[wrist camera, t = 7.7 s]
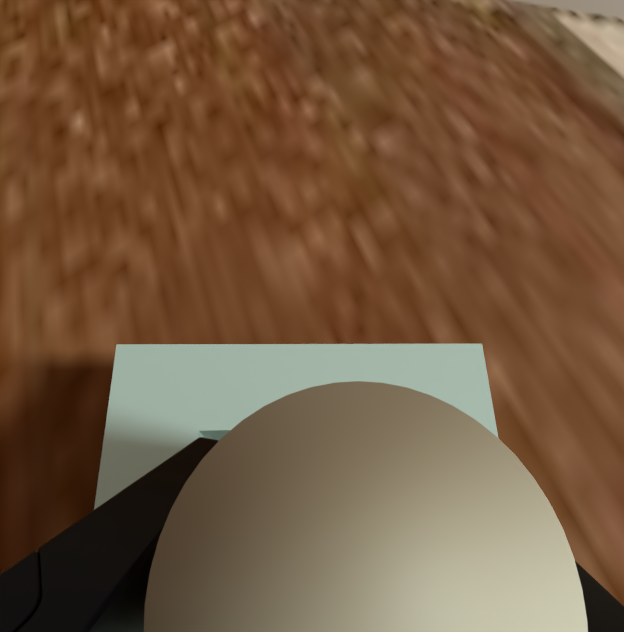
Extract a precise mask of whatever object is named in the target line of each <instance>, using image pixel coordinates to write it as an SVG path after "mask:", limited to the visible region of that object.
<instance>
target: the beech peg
mask: <svg viewBox="0 0 624 632" xmlns="http://www.w3.org/2000/svg"><path fill="white" fill-rule="evenodd" d="M144 632H588V624H587V616H586V610H585V603H584V597H583V590H582V586H581V582H580V579H579V575H578V571H577V567H576V564H575V560H574V557H573V554H572V551H571V549H570V546H569V544H568V541H567V538H566V536H565V533H564V530H563V528H562V526H561V524H560V522H559V520H558V518H557V516H556V514H555V512H554V510H553V508H552V506H551V504H550V502H549V501H548V499H547V498H546V496H545V495H544V493H543V491H542V490H541V488H540V487H539V485H538V484H537V482H536V481H535V479H534V478H533V476H532V475H531V474H530V473H529V471H528V470H527V469H526V468H525V466H524V465H523V464H522V463H521V461H520V460H519V459H518V458H517V457H516V455H515V454H514V453H513V452H512V451H511V450H510V449H509V448H508V447H507V446H506V445H505V444H504V443H503V442H502V441H501V440H500V439H499V438H498V437H497V436H495V435H494V434H493V433H492V432H490V431H489V430H488V429H487V428H485V427H484V426H483V425H482V424H480V423H479V422H478V421H476V420H475V419H474V418H472V417H470V416H469V415H467V414H466V413H464V412H462V411H461V410H459V409H457V408H456V407H454V406H453V405H450V404H448V403H446V402H444V401H442V400H440V399H438V398H435V397H433V396H431V395H428V394H425V393H422V392H419V391H416V390H413V389H410V388H407V387H402V386H397V385H392V384H387V383H379V382H364V381H353V382H337V383H330V384H325V385H320V386H315V387H310V388H307V389H304V390H301V391H298V392H295V393H292V394H289V395H286V396H284V397H282V398H280V399H278V400H276V401H274V402H272V403H270V404H268V405H265V406H264V407H262V408H260V409H259V410H257V411H256V412H254V413H253V414H251V415H250V416H248V417H247V418H245V419H244V420H242V421H241V422H240V423H239V424H237V425H236V426H235V427H234V428H233V429H232V430H230V431H229V432H228V433H227V434H226V435H224V436H223V437H222V438H221V439H220V440H219V441H218V442H217V443H216V445H215V446H214V447H213V448H212V449H211V450H210V451H209V452H208V453H207V454H206V455H205V457H204V458H203V459H202V460H201V462H200V463H199V464H198V466H197V467H196V469H195V470H194V471H193V473H192V474H191V475H190V477H189V478H188V480H187V481H186V483H185V484H184V486H183V488H182V490H181V492H180V493H179V495H178V497H177V499H176V501H175V502H174V504H173V506H172V508H171V510H170V513H169V515H168V517H167V520H166V522H165V525H164V527H163V530H162V532H161V535H160V537H159V540H158V544H157V547H156V551H155V554H154V558H153V562H152V565H151V569H150V574H149V580H148V587H147V593H146V599H145V610H144Z"/></svg>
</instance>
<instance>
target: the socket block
mask: <svg viewBox="0 0 624 632" xmlns="http://www.w3.org/2000/svg"><path fill="white" fill-rule="evenodd" d="M353 381H364V382H379V383H387V384H392V385H397V386H402V387H407V388H410V389H413V390H416V391H419V392H422V393H425V394H428V395H431V396H433V397H435V398H438V399H440V400H442V401H444V402H446V403H448V404H450V405H453V406H454V407H456V408H457V409H459V410H461V411H462V412H464V413H466V414H467V415H469V416H470V417H472V418H474V419H475V420H476V421H478V422H479V423H480V424H482V425H483V426H484V427H485V428H487V429H488V430H489V431H490V432H492V433H493V434H494V435H495V436H497V437H498V434H497V428H496V422H495V416H494V411H493V405H492V399H491V393H490V388H489V382H488V376H487V370H486V365H485V359H484V353H483V347H482V344H128V345H116V352H115V360H114V367H113V374H112V382H111V389H110V396H109V403H108V411H107V418H106V425H105V433H104V440H103V447H102V455H101V462H100V469H99V477H98V484H97V491H96V498H95V506H94V509H96V508H97V507H99V506H100V505H102V504H103V503H105V502H106V501H107V500H109V499H110V498H112V497H113V496H115V495H116V494H118V493H119V492H120V491H122V490H123V489H125V488H126V487H128V486H129V485H131V484H132V483H133V482H135V481H136V480H138V479H139V478H141V477H142V476H144V475H145V474H147V473H148V472H149V471H151V470H152V469H154V468H155V467H157V466H158V465H160V464H161V463H162V462H164V461H165V460H167V459H168V458H170V457H171V456H173V455H174V454H175V453H177V452H178V451H180V450H181V449H183V448H184V447H186V446H187V445H188V444H190V443H191V442H193V441H194V440H196V439H197V438H200V437H205V438H210V439H216V440H220V439H221V438H222V437H223V436H224V435H226V434H227V433H228V432H229V431H230V430H232V429H233V428H234V427H235V426H236V425H237V424H239V423H240V422H241V421H242V420H244V419H245V418H247V417H248V416H250V415H251V414H253V413H254V412H256V411H257V410H259V409H260V408H262V407H264V406H265V405H268V404H270V403H272V402H274V401H276V400H278V399H280V398H282V397H284V396H286V395H289V394H292V393H295V392H298V391H301V390H304V389H307V388H310V387H315V386H320V385H325V384H330V383H337V382H353Z"/></svg>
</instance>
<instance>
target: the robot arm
mask: <svg viewBox="0 0 624 632" xmlns="http://www.w3.org/2000/svg"><path fill="white" fill-rule="evenodd" d="M218 441H219V440H216V439H210V438H205V437H200V438H197V439H196V440H194V441H193V442H191V443H190V444H188V445H187V446H186V447H184V448H183V449H181V450H180V451H178V452H177V453H175V454H174V455H173V456H171V457H170V458H168V459H167V460H165V461H164V462H162V463H161V464H160V465H158V466H157V467H155V468H154V469H152V470H151V471H149V472H148V473H147V474H145V475H144V476H142V477H141V478H139V479H138V480H136V481H135V482H133V483H132V484H131V485H129V486H128V487H126V488H125V489H123V490H122V491H120V492H119V493H118V494H116V495H115V496H113V497H112V498H110V499H109V500H107V501H106V502H105V503H103V504H102V505H100V506H99V507H97V508H96V509H94V510H93V511H92V512H90V513H89V514H87V515H86V516H84V517H83V518H81V519H80V520H79V521H77V522H76V523H74V524H73V525H71V526H70V527H68V528H67V529H66V530H64V531H63V532H61V533H60V534H58V535H57V536H55V537H54V538H52V539H51V540H50V541H48V542H47V543H45V544H44V545H42V546H41V547H40V548H39V550H38V552H39V553H38V552H37V551H33V552H32V553H30V554H29V555H28V556H26V557H25V558H23V559H22V560H20V561H19V562H17V563H16V564H15V565H13V566H12V567H10V568H9V569H7V570H6V571H4V572H3V573H1V574H0V632H144V610H145V599H146V593H147V587H148V580H149V574H150V569H151V565H152V562H153V558H154V554H155V551H156V547H157V544H158V540H159V537H160V535H161V532H162V530H163V527H164V525H165V522H166V520H167V517H168V515H169V513H170V510H171V508H172V506H173V504H174V502H175V501H176V499H177V497H178V495H179V493H180V492H181V490H182V488H183V486H184V484H185V483H186V481H187V480H188V478H189V477H190V475H191V474H192V473H193V471H194V470H195V469H196V467H197V466H198V464H199V463H200V462H201V460H202V459H203V458H204V457H205V455H206V454H207V453H208V452H209V451H210V450H211V449H212V448H213V447H214V446H215V445H216V443H217V442H218ZM575 564H576V567H577V571H578V575H579V579H580V582H581V586H582V590H583V597H584V603H585V610H586V616H587V624H588V632H624V606H623V605H622V604H621V603H620V602H619V601H618V600H617V599H615V598H614V597H613V596H612V595H611V594H610V593H609V592H608V591H607V590H606V589H605V588H604V587H603V586H601V585H600V584H599V583H598V582H597V581H596V580H595V579H594V578H593V577H592V576H591V575H590V574H589V573H587V572H586V571H585V570H584V569H583V568H582V567H581V566H580V565H579V564H578V563H577V562H576V561H575Z"/></svg>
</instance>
